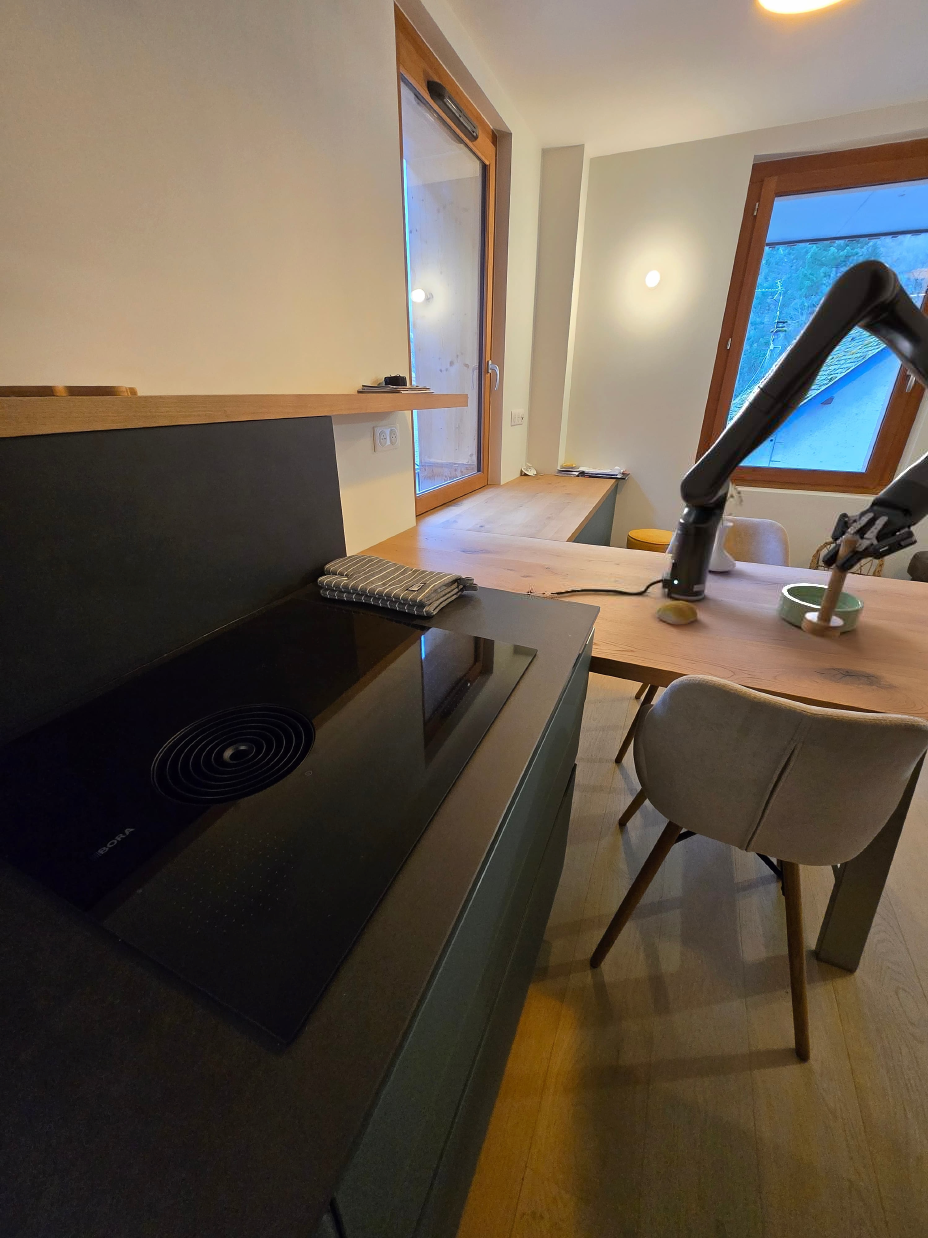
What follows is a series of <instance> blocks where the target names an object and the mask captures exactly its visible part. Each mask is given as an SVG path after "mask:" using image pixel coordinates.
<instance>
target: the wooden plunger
mask: <svg viewBox="0 0 928 1238" xmlns="http://www.w3.org/2000/svg"><path fill="white" fill-rule="evenodd" d="M858 542H859V538H856V537H851V536H845V537H844V538H843V541H842V544H841V547H840V550H839V553H838V556H837V559H836V562H835V564H834V565H833V569H832V571H831V574H830V577H829V579H828V583H827V589H826V592H825V595H824V598H823V601H822V604H821V607H820V610H819V612H810V613H807V614H805V617H804V620H803V623H802V626H801V627H800V628H801V630H802V631H804V632H805V633H807V634H809V635H812V636H815V637H818V638H823V639H835V638H838V637H839V636H840V635H841V633H842V632H841V629H842V627H843V624H844V622H843V621H842V620H841V619H840V618H838V617H836V616H833V614H834V611H835V608H836V605H837V602H838V599H839V597H840V594H841V591H842V590H843V588H844V585H845V583H846V579H847V577H848V573H849V571H846V572H845V573H841V572H839V571H838V570H837V568H836V564H837V563H838V562H839V561H840V560H841V559H843V558H844V557H845V556H846V555H847V554H848V553H849V552H850V551H852V550H856V547H857V546H858Z"/></svg>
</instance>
